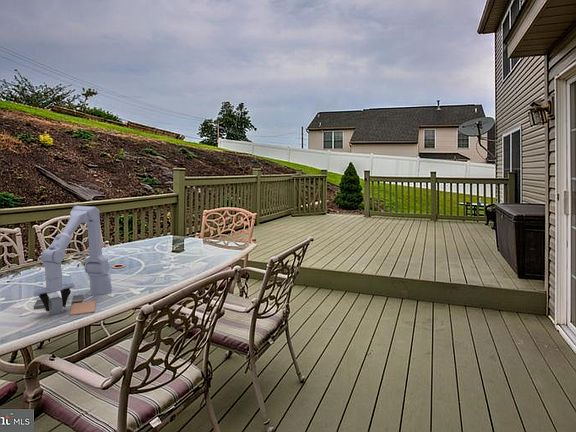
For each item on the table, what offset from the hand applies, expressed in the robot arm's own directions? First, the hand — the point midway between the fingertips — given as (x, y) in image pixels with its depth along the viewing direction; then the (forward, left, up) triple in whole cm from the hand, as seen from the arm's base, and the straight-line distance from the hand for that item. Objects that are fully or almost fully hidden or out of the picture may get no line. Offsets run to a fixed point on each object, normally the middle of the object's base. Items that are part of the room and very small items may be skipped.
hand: (55, 308), depth 149 cm
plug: (+1, -2, -2) cm, 3 cm away
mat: (-10, 0, -2) cm, 10 cm away
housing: (0, -12, -2) cm, 12 cm away
